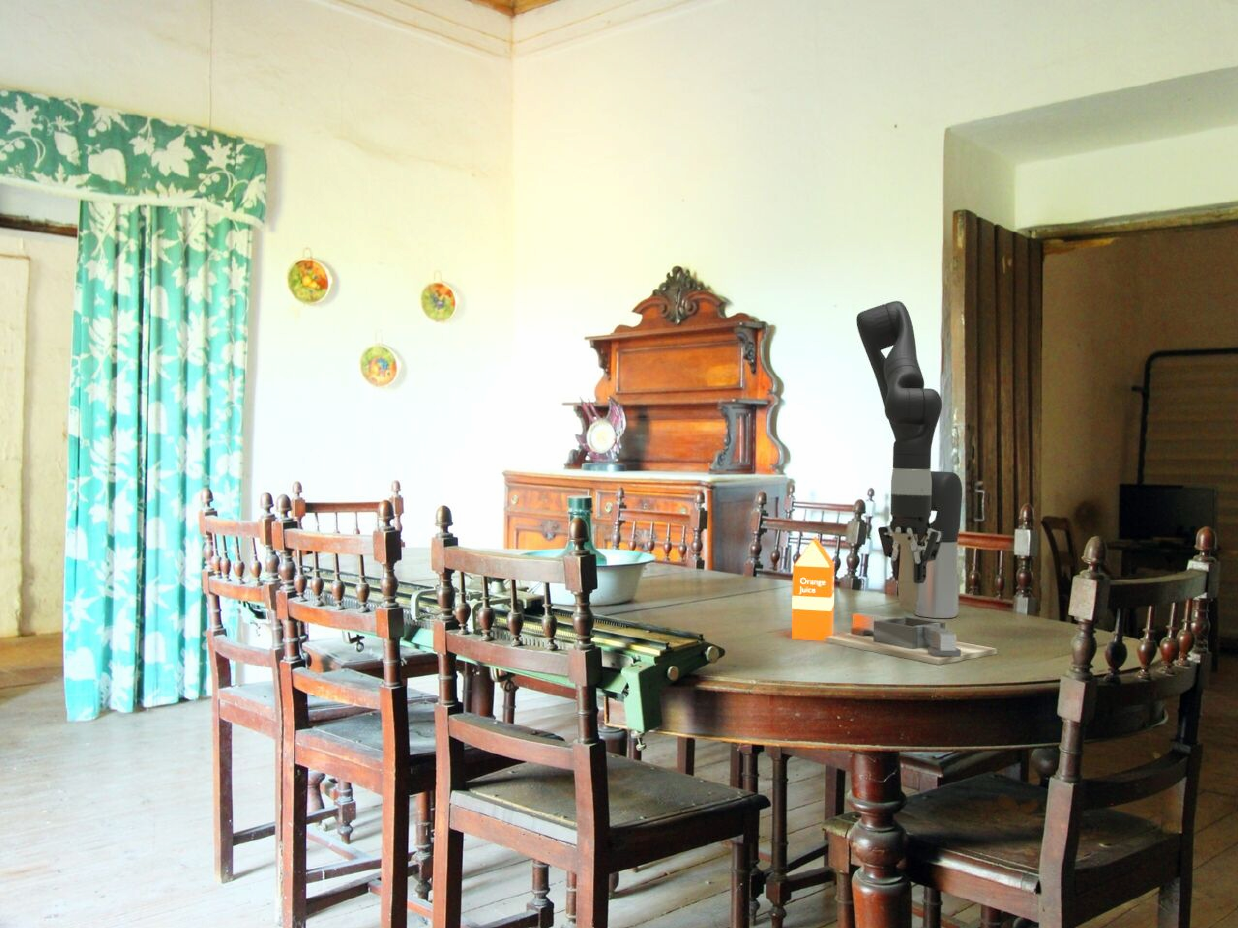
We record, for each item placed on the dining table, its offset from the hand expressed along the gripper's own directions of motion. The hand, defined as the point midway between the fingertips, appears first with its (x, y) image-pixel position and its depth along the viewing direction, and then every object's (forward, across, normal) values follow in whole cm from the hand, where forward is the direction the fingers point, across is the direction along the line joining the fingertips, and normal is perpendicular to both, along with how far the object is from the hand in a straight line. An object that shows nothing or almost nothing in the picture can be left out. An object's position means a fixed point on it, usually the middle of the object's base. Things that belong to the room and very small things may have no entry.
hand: (909, 581), depth 198 cm
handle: (+6, 0, 0) cm, 6 cm away
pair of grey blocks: (+12, -1, +2) cm, 12 cm away
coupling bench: (+13, 0, 0) cm, 13 cm away
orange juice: (+13, +19, +6) cm, 24 cm away
